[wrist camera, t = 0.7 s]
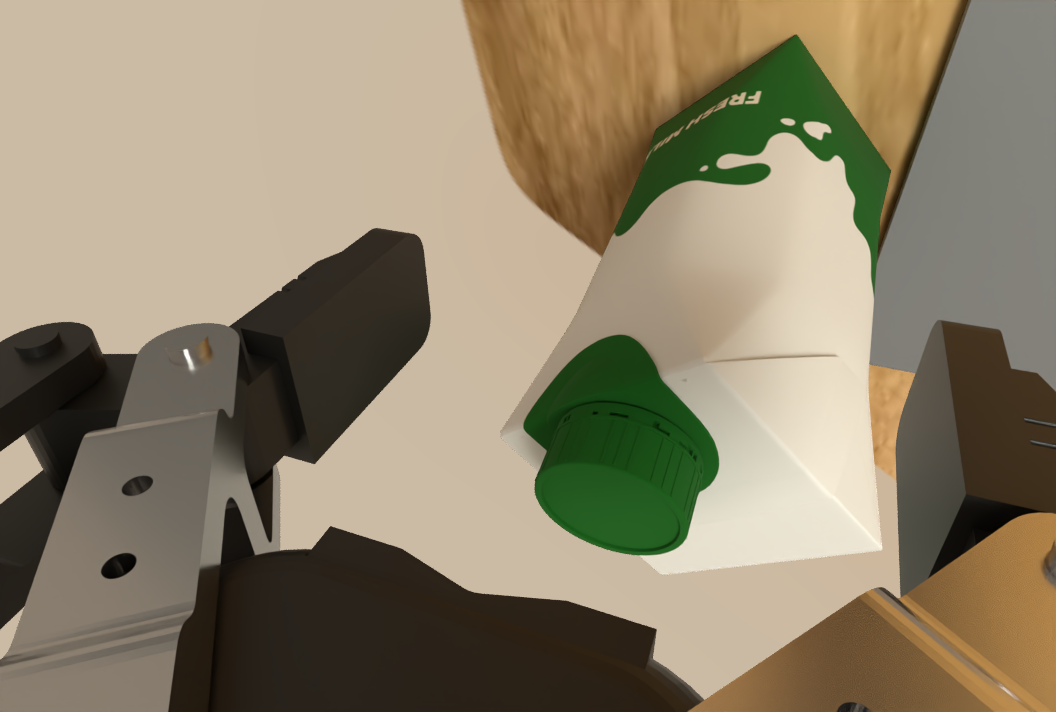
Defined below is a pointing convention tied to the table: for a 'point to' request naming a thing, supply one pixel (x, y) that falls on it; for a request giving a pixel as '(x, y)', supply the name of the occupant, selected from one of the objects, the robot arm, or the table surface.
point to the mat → (979, 198)
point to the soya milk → (725, 340)
